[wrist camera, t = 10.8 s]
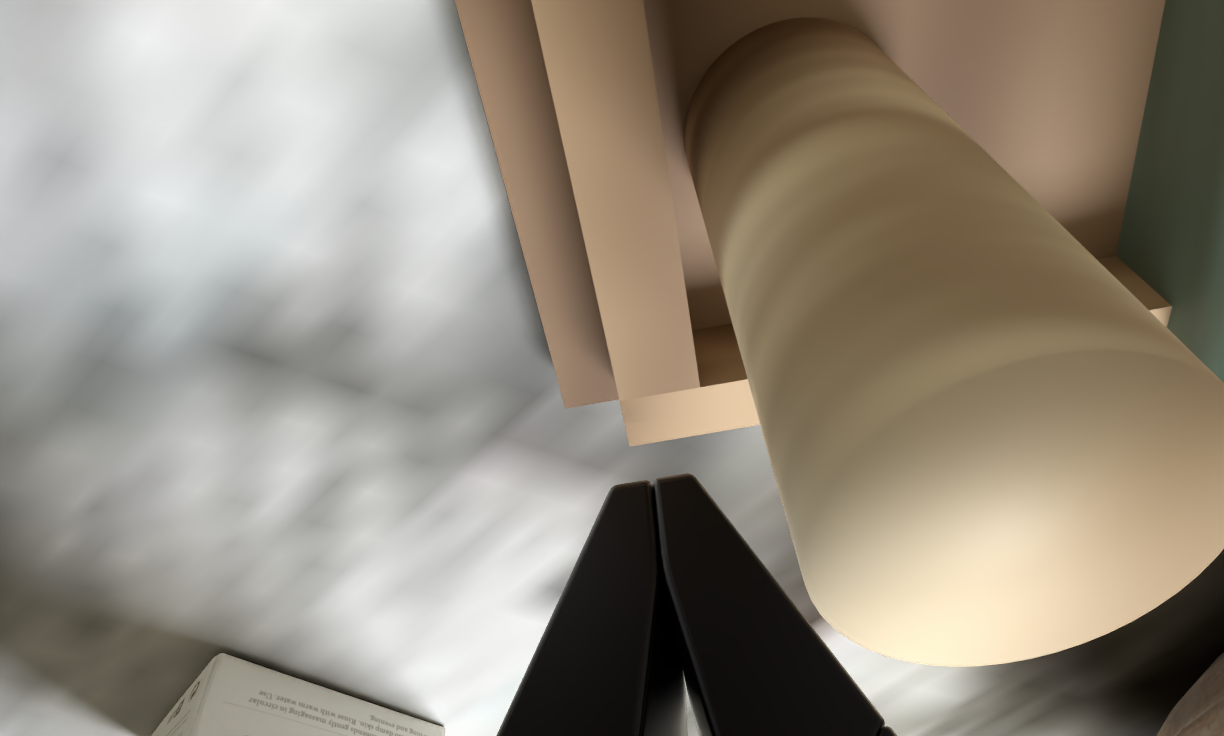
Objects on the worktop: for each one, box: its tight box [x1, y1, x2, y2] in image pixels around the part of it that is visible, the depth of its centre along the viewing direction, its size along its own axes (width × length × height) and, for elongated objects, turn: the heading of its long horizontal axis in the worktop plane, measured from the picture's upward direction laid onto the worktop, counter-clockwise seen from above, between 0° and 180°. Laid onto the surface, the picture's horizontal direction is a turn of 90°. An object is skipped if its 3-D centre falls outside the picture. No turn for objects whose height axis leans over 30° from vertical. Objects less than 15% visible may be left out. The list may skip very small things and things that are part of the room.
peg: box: [684, 18, 1224, 667], centre depth 12 cm, size 4×4×10 cm
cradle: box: [455, 0, 1224, 446], centre depth 14 cm, size 16×11×6 cm
